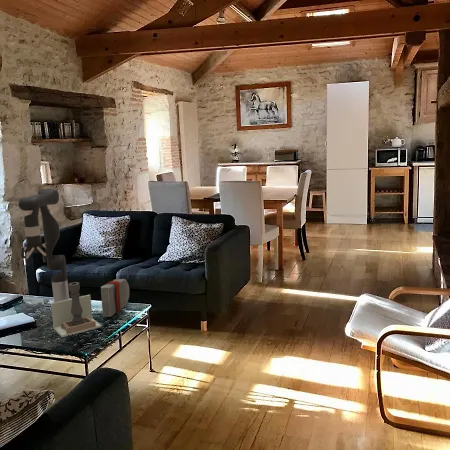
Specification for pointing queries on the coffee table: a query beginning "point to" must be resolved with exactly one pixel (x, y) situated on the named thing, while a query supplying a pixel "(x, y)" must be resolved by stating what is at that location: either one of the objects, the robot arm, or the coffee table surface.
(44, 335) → the coffee table surface
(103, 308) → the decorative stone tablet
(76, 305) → the candle holder
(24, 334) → the coffee table surface
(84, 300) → the board
